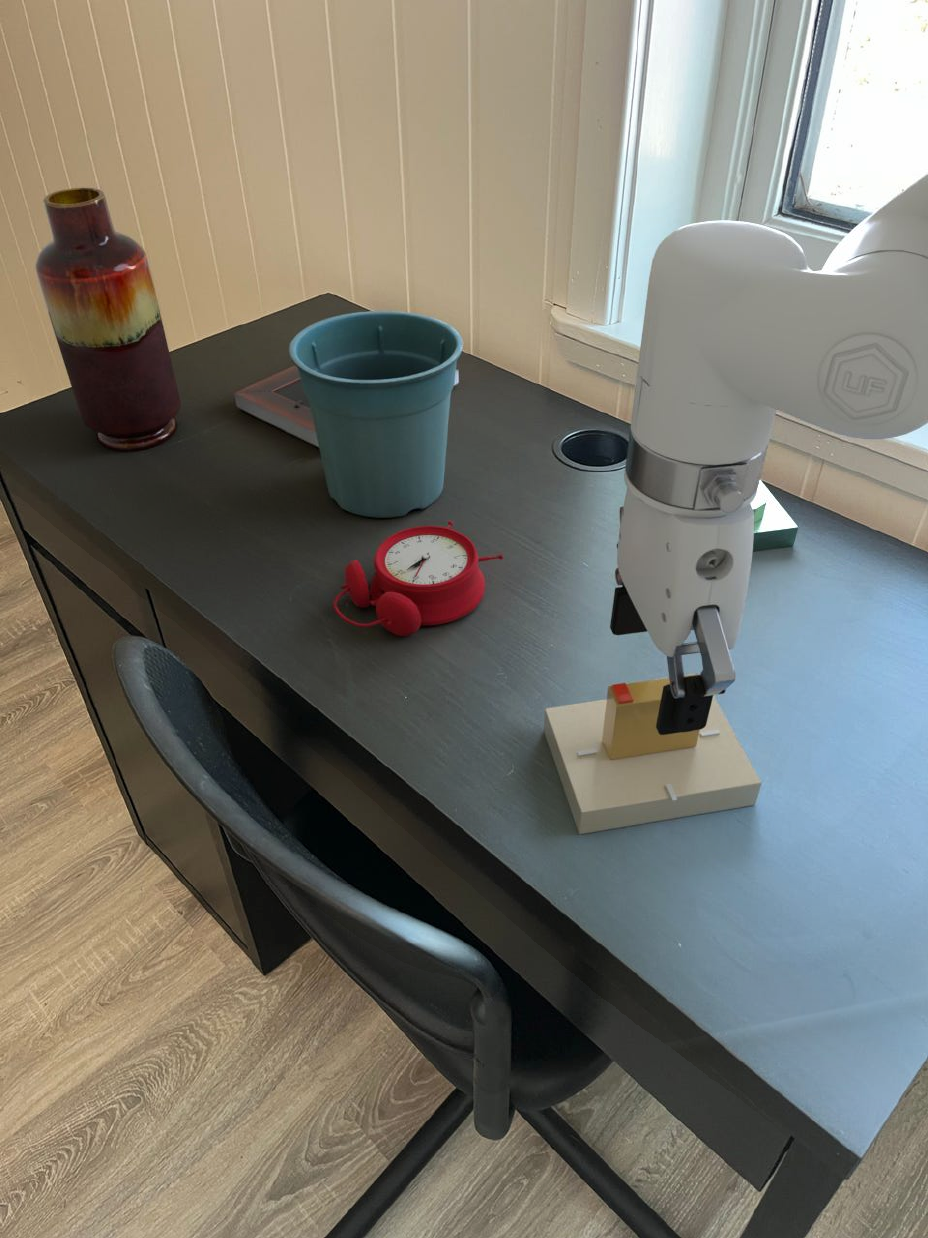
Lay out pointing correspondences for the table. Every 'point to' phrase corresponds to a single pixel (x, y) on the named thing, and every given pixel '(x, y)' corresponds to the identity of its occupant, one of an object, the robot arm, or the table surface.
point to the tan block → (639, 721)
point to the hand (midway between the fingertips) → (654, 677)
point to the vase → (107, 323)
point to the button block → (771, 522)
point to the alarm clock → (419, 579)
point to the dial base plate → (646, 772)
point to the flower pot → (380, 406)
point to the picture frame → (283, 403)
